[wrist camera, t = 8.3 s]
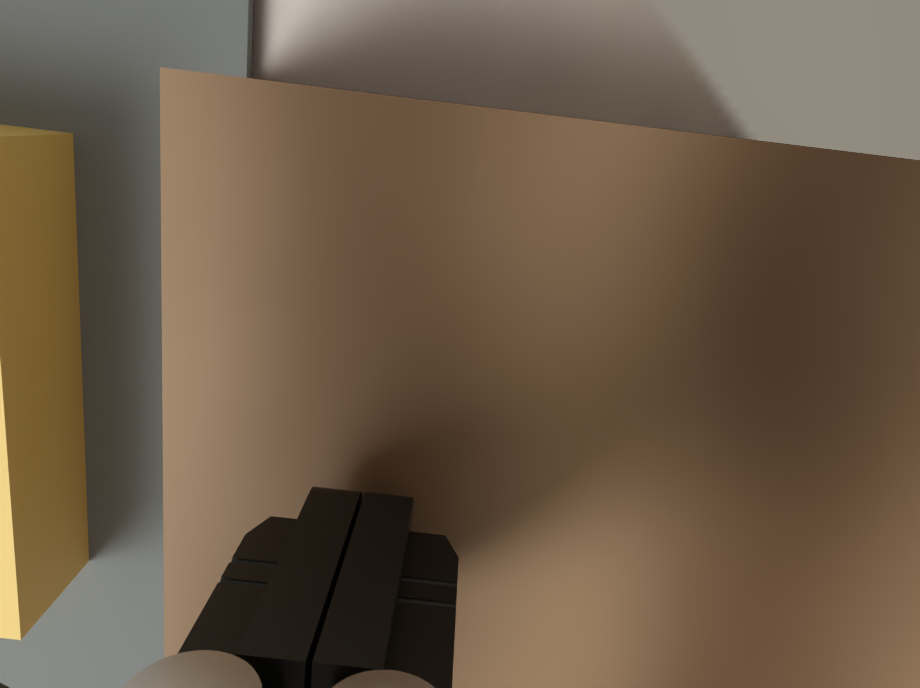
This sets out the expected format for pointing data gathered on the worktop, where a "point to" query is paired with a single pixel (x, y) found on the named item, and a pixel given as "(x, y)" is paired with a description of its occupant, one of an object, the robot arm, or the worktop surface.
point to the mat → (112, 299)
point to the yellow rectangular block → (39, 378)
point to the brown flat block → (553, 376)
